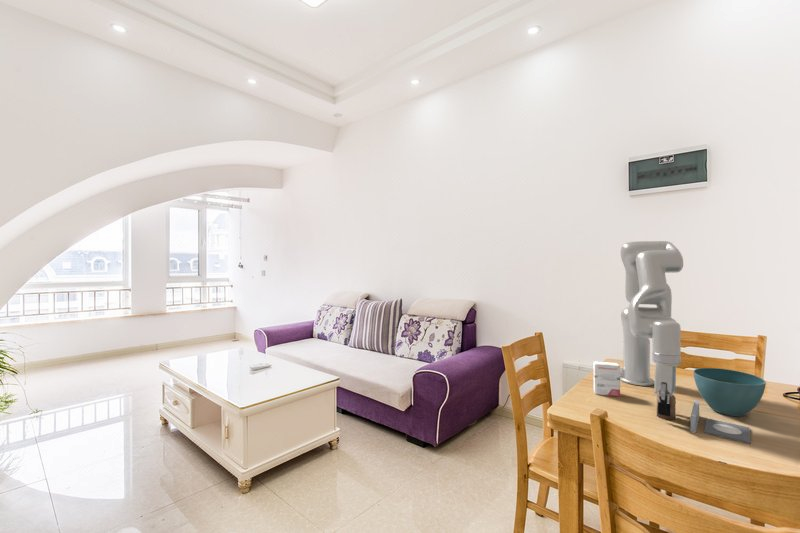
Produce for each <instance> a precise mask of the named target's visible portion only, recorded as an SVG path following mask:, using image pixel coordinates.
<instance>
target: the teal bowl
mask: <svg viewBox="0 0 800 533" xmlns="http://www.w3.org/2000/svg"><path fill="white" fill-rule="evenodd" d="M693 379H694V382H695V386H696V388H697V390H698V392H699V394H700V396H701V397H702V400H704V401H705V404H707V405H708V406H709V407H710V409H711V410H713V411H714V412H717V413H719V414H722V415H726V416H732V417H743V416H746V415H747V414H748V413H750V412H751V411H753V409H755V408H756V407H757V406H758V404H759V403H760V402H761V400H762V398H763V396H764V393H765V389H766V385H767V384H766V380H765V379H764V378H762V377H759V376H757V375H754V374H751V373H748V372H743V371H739V370H733V369H727V368H726V369H725V368H718V367H717V368H715V367H700V368H696V369H694V370H693Z"/></svg>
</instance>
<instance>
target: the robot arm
mask: <svg viewBox="0 0 800 533" xmlns="http://www.w3.org/2000/svg"><path fill="white" fill-rule="evenodd" d="M620 258H621V262H622V265H623V267H624V269H625V299H626V301H627V302H628V303H629V305H628V307H626V308H623V309H622V311H621V313H620V318H621V323H622V324H621V325H622V326H621V327H622V334H623V341H622V342H623V351H622V352H623V353H622V354H623V368H622V367H620V382H623V383H626V384H629V385H634V386H635V385H636V386H642V387H645V386H646V387H647V386H653V387H654V388H653V392H654V394H656V395H657V394H658V393H659V400H658V414H660V415H664V416H670V404H669V401H670V397H671V396H675V395H674V393H675V391H676V382H677V367H678V366H681V363H682V361H681V359H682V358H681V356H682V355H681V353H682V352H681V350H682V348H681V344H682V342H681V340H682V338H681V337H682V335H681V330H682V329H681V324H680V323H679V322H677V320H675V319H674V318H672V306H673V305H672V302H673V301H672V299H673V298H672V297H673V296H672V294H673V293H672V289H671V287H670V284H668V283H667V278H666V273H668V274H669V273H674V274H675V273H679V272H681V271H682V269H683V267H684V258H683V255H682V253H681V251H680V250H679V249H678V247H677V246H675V245H674V244H673V242H670V241H667V240H654V241H653V240H652V241H649V240H647V241H645V240H643V241H642V240H641V241H629V242H626V243H624V244H622V245H621V247H620ZM640 305H655V306H656V307H650V306H649V307H647V306H640ZM650 339H652V344H651V341H650ZM651 346H652V348H651ZM651 349H652V352H651ZM651 353H652V355H651ZM651 356H652V357H651ZM651 358H652V359H651ZM651 360H652V363H654V364H655V366H654V379H653V378H652V377H651Z"/></svg>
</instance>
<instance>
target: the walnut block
mask: <svg viewBox="0 0 800 533" xmlns="http://www.w3.org/2000/svg"><path fill="white" fill-rule="evenodd" d="M658 400H659V393H657V394H656V417H658V418H659V419H662V420H666V421H676V396H675V395H674V396H671V397H670V401H669V404H670V416H664V415H660V414H658Z"/></svg>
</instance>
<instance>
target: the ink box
mask: <svg viewBox="0 0 800 533" xmlns="http://www.w3.org/2000/svg"><path fill="white" fill-rule="evenodd" d="M592 364H593V368H592V369H593V370H592V371H593V374H592V375H593V379H592V380H593V382H592V383H593V385H592V386H593V393H594V394H595V395H599V396H600V395H603V396H610V397H611V396H612V397H621V380H620V369H621V366H620V365H619V363H617V362H606V361H605V362H604V361H593V362H592Z"/></svg>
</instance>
